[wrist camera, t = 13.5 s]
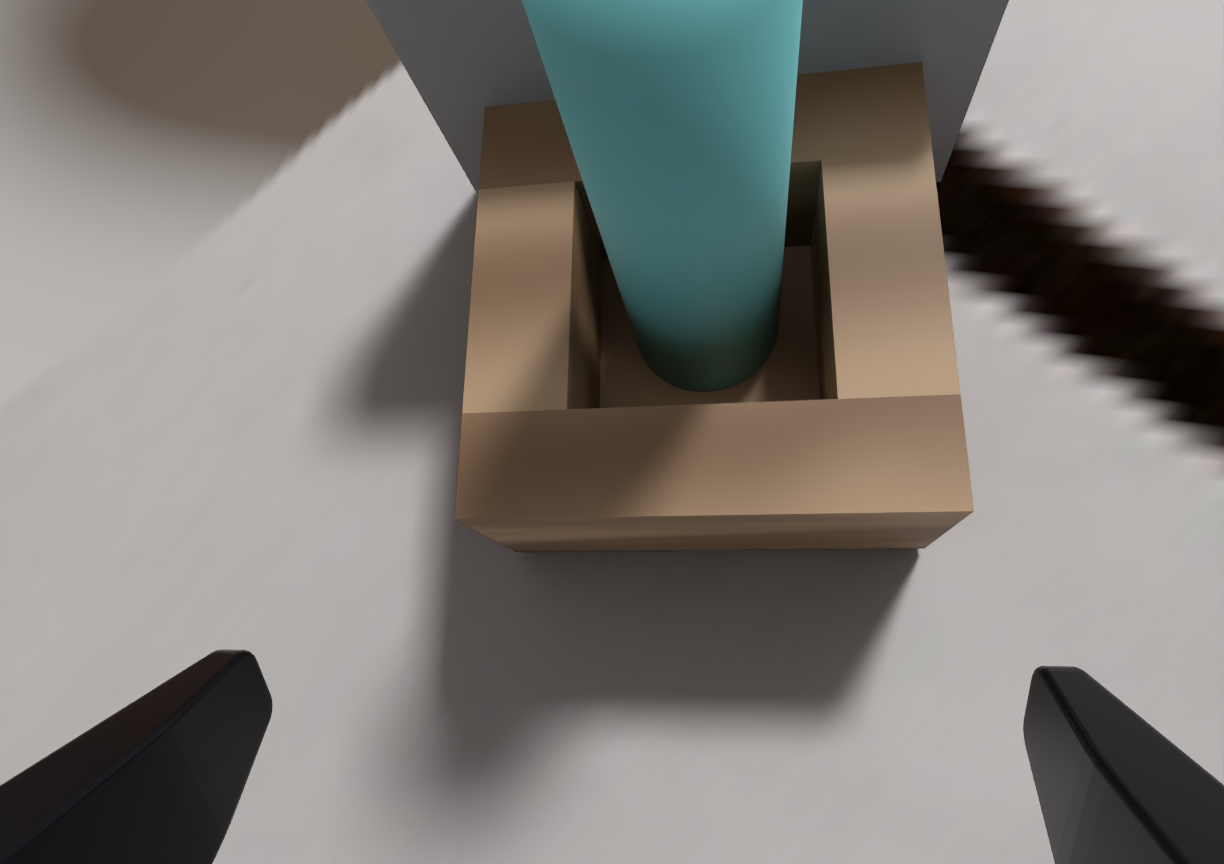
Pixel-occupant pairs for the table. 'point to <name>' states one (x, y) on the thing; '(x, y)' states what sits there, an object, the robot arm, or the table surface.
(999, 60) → the table surface
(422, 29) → the backstop wall
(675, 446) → the hole block
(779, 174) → the dowel
